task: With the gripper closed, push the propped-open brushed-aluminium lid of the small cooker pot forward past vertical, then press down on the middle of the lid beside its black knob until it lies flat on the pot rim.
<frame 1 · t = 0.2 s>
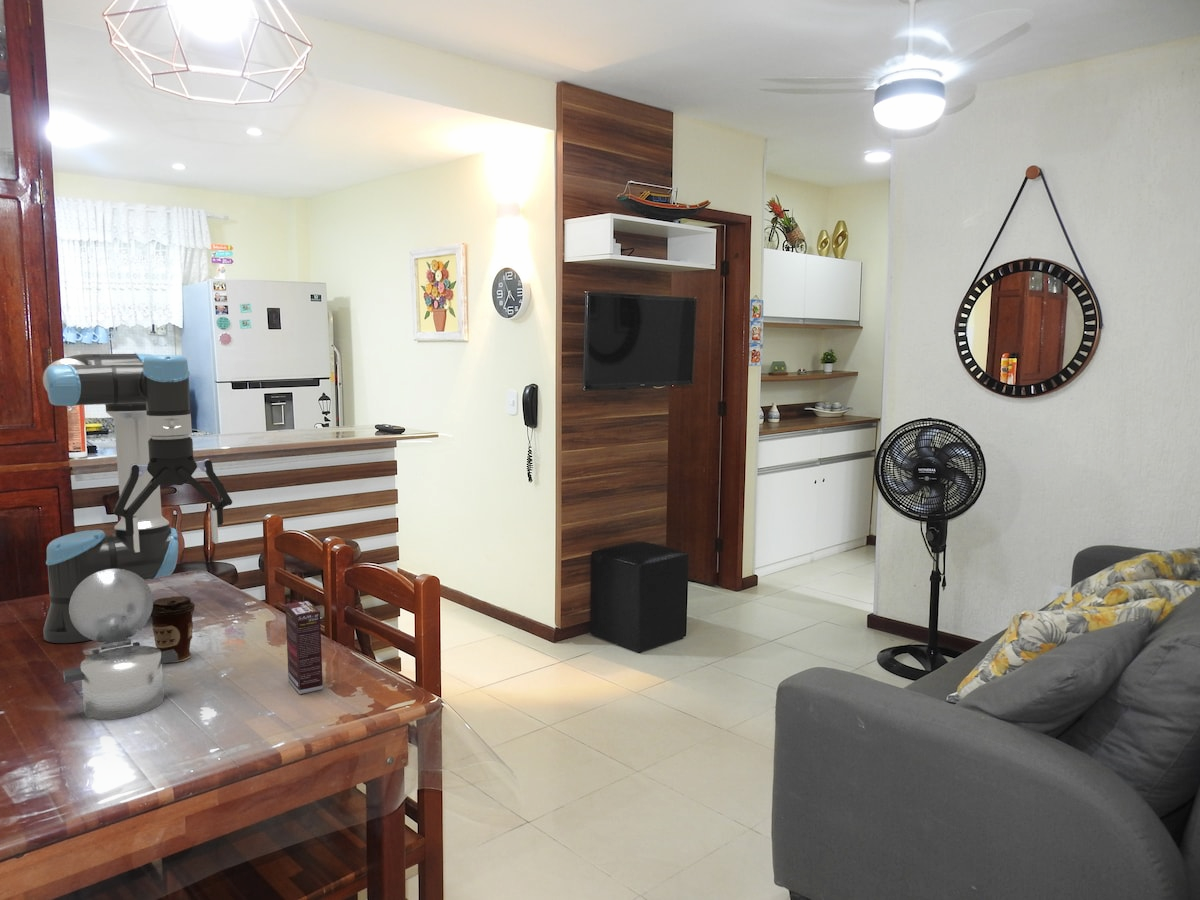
hand: (176, 546, 162), 28 cm above the table, fingers open, 13 cm apart
lid: (111, 607, 162), point 16 cm above the table, hinge at 100.0°
coffee cup: (174, 659, 180), on the table
pot: (124, 704, 157), on the table
supplement box: (305, 686, 166), on the table
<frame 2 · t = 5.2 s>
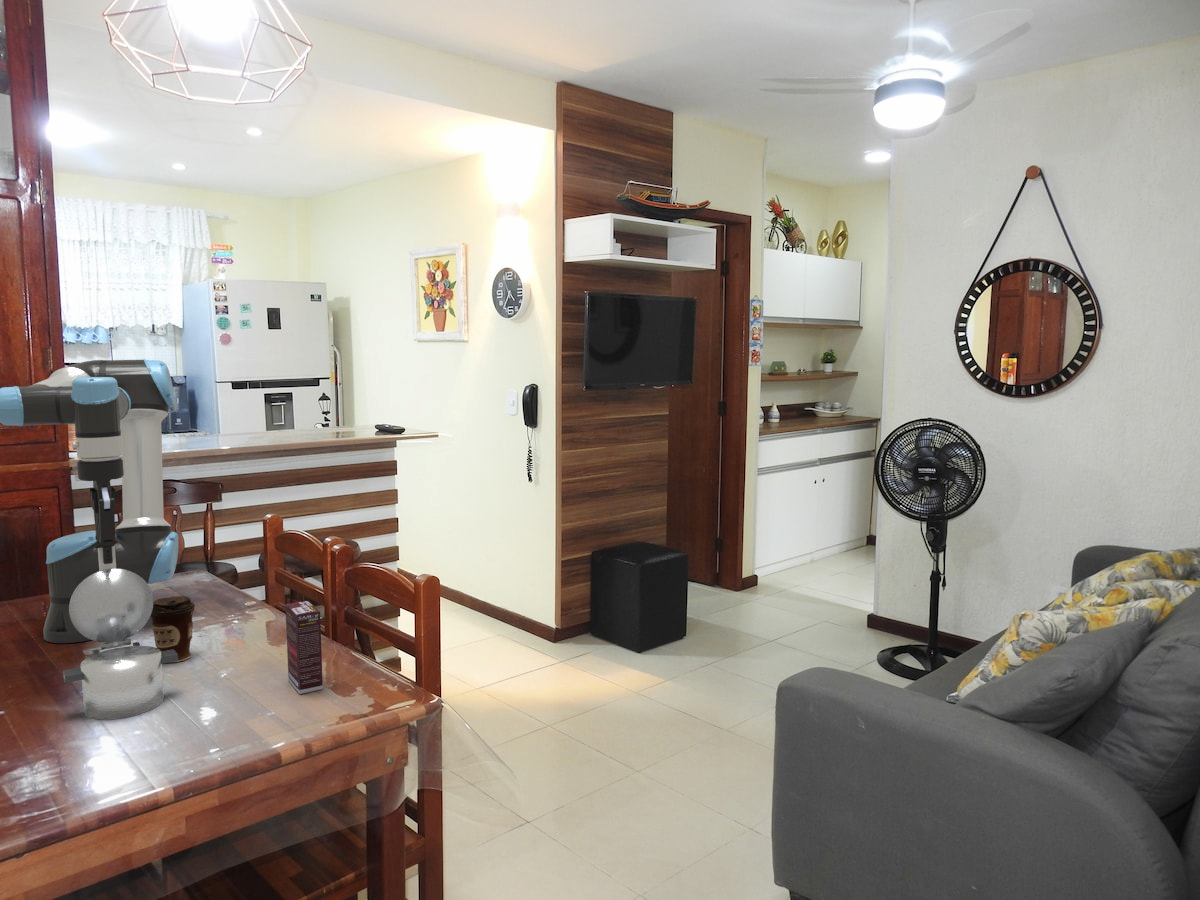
hand: (108, 578, 162), 22 cm above the table, fingers closed
lid: (111, 607, 162), point 16 cm above the table, hinge at 98.6°, touching gripper
everything else where it was.
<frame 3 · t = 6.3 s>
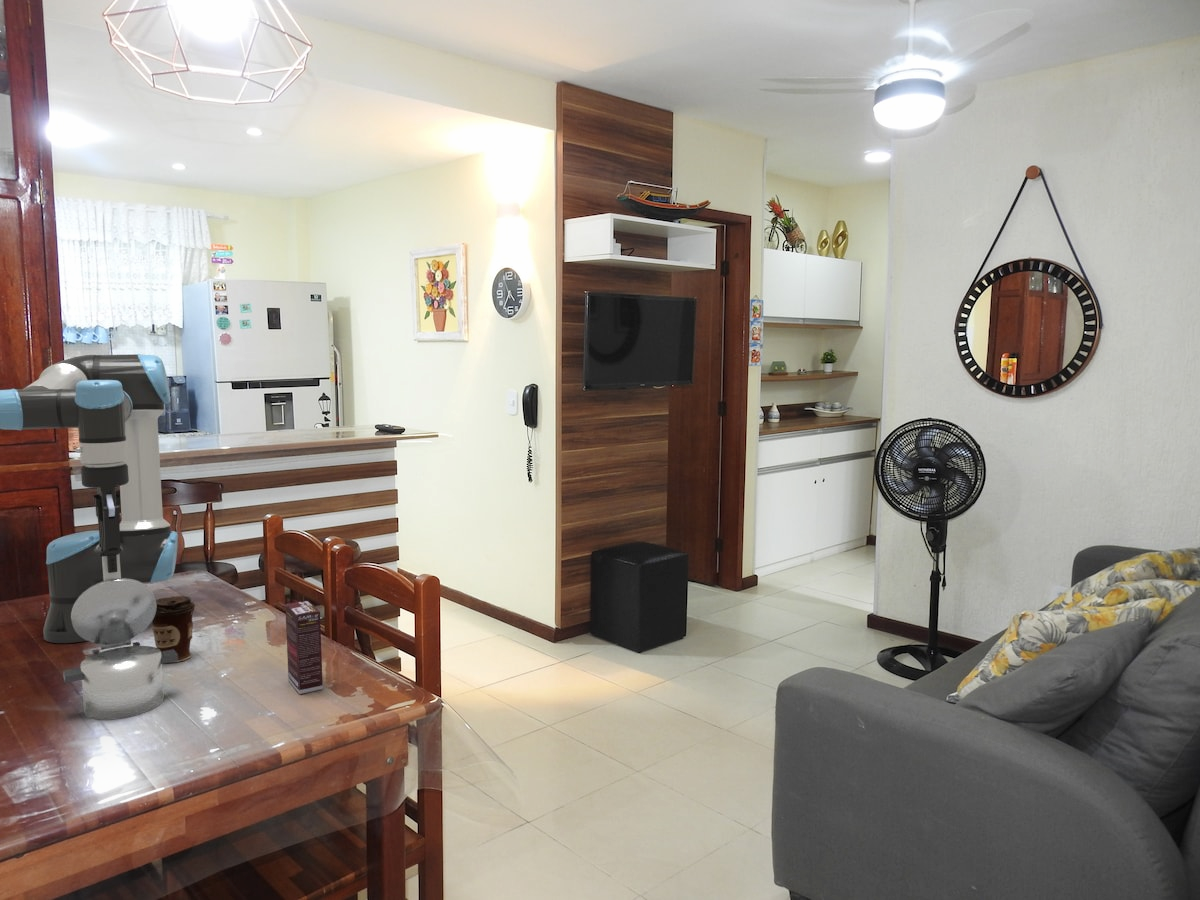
hand: (112, 587, 158), 21 cm above the table, fingers closed
lid: (114, 610, 160), point 16 cm above the table, hinge at 71.2°, touching gripper
everything else where it was.
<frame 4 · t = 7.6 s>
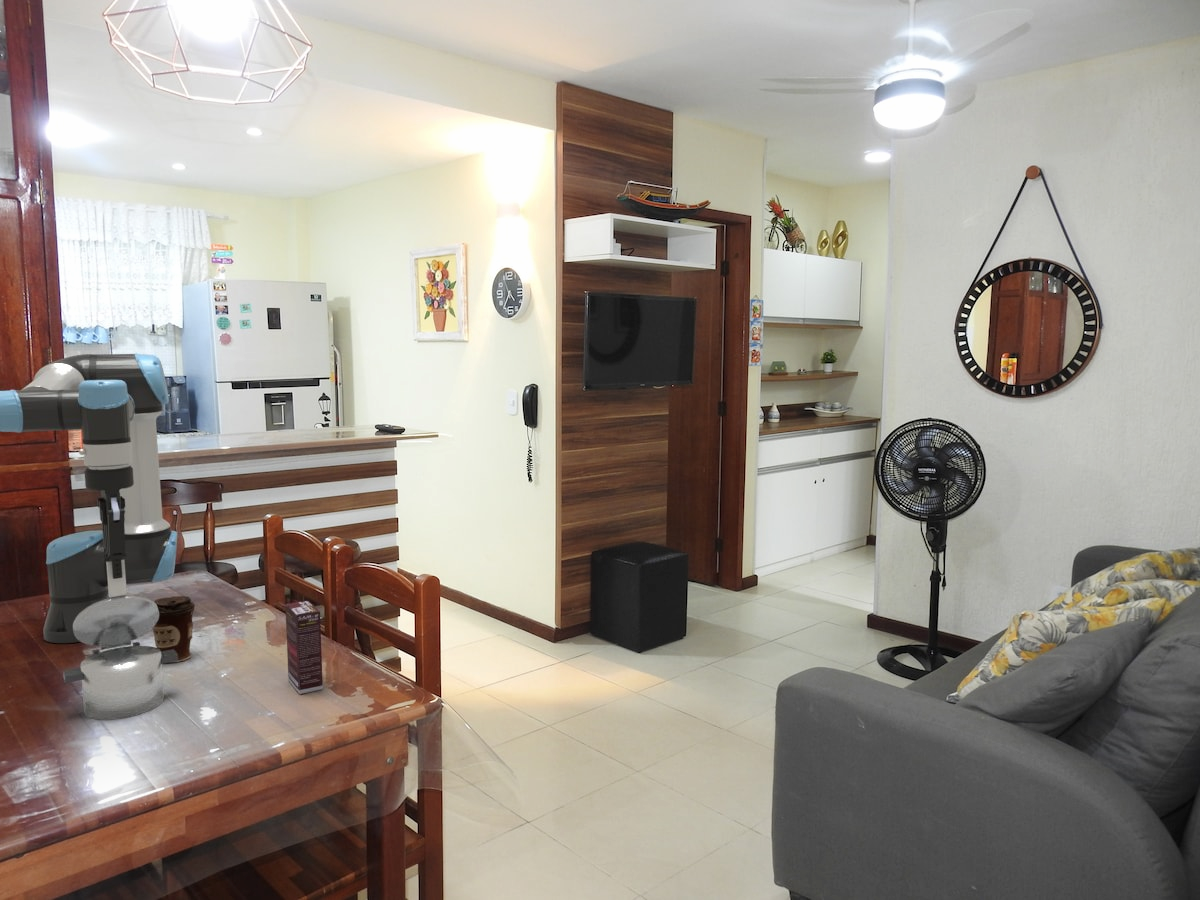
hand: (117, 594, 153), 22 cm above the table, fingers closed
lid: (116, 617, 158), point 16 cm above the table, hinge at 51.4°
everything else where it was.
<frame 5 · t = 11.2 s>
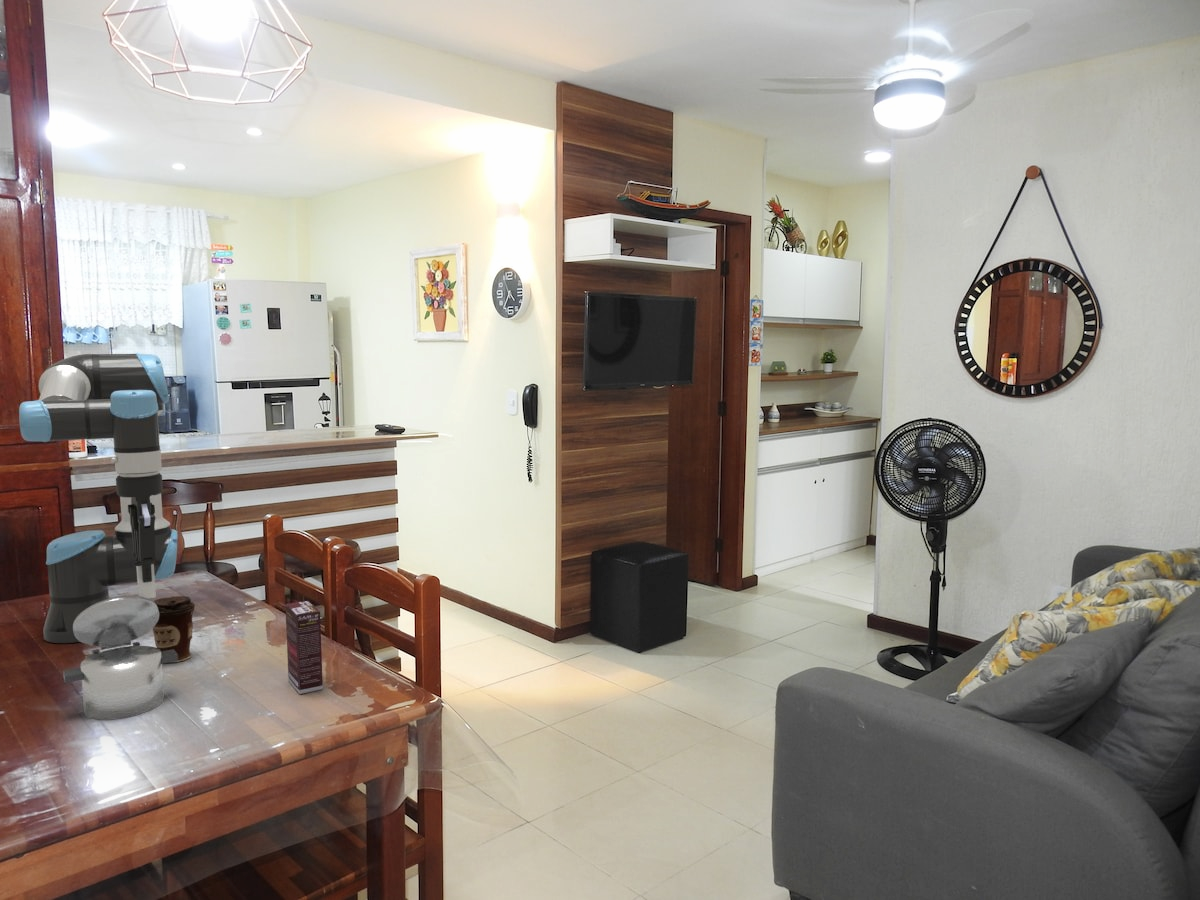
hand: (147, 597, 158), 19 cm above the table, fingers closed
lid: (116, 618, 158), point 16 cm above the table, hinge at 50.6°, touching gripper
everything else where it was.
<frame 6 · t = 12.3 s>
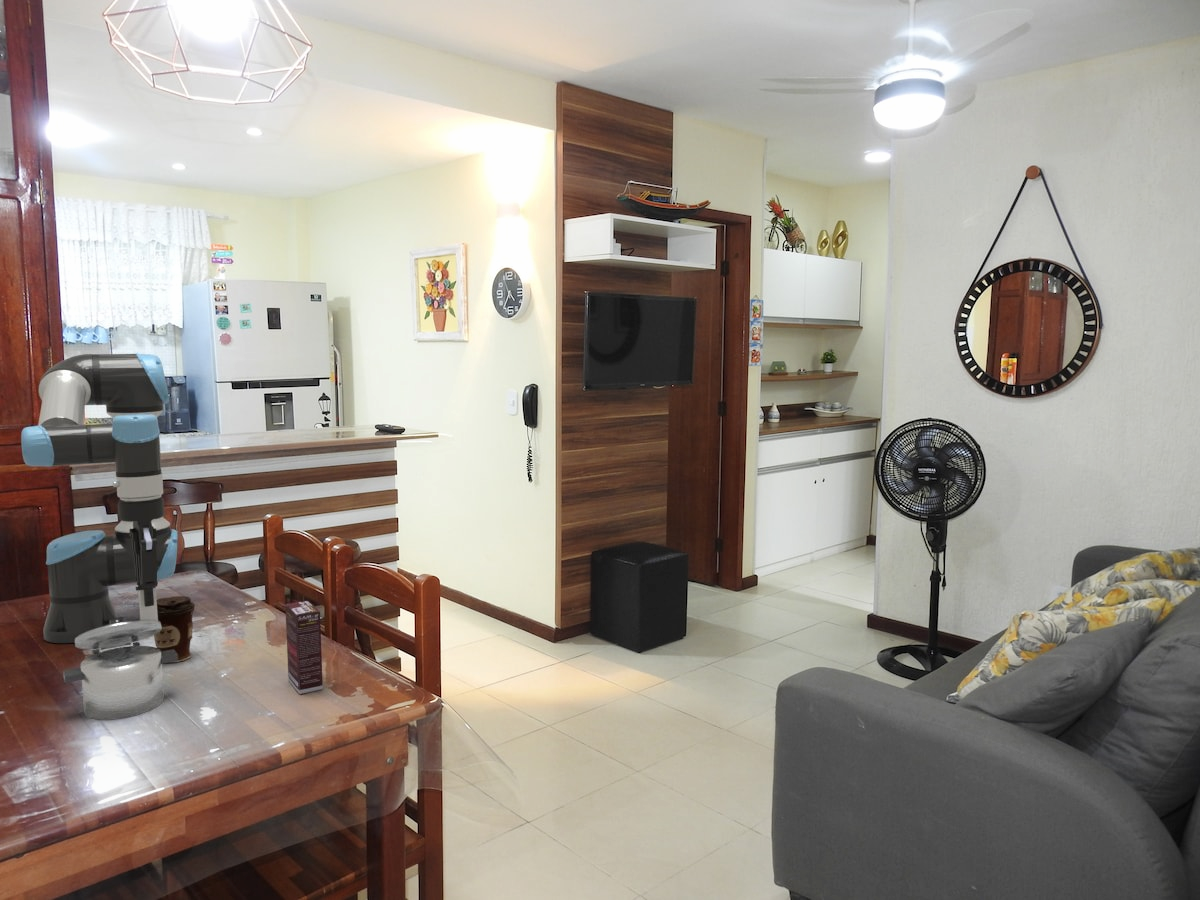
hand: (149, 621, 158), 15 cm above the table, fingers closed
lid: (118, 629, 156), point 14 cm above the table, hinge at 30.0°, touching gripper
everything else where it was.
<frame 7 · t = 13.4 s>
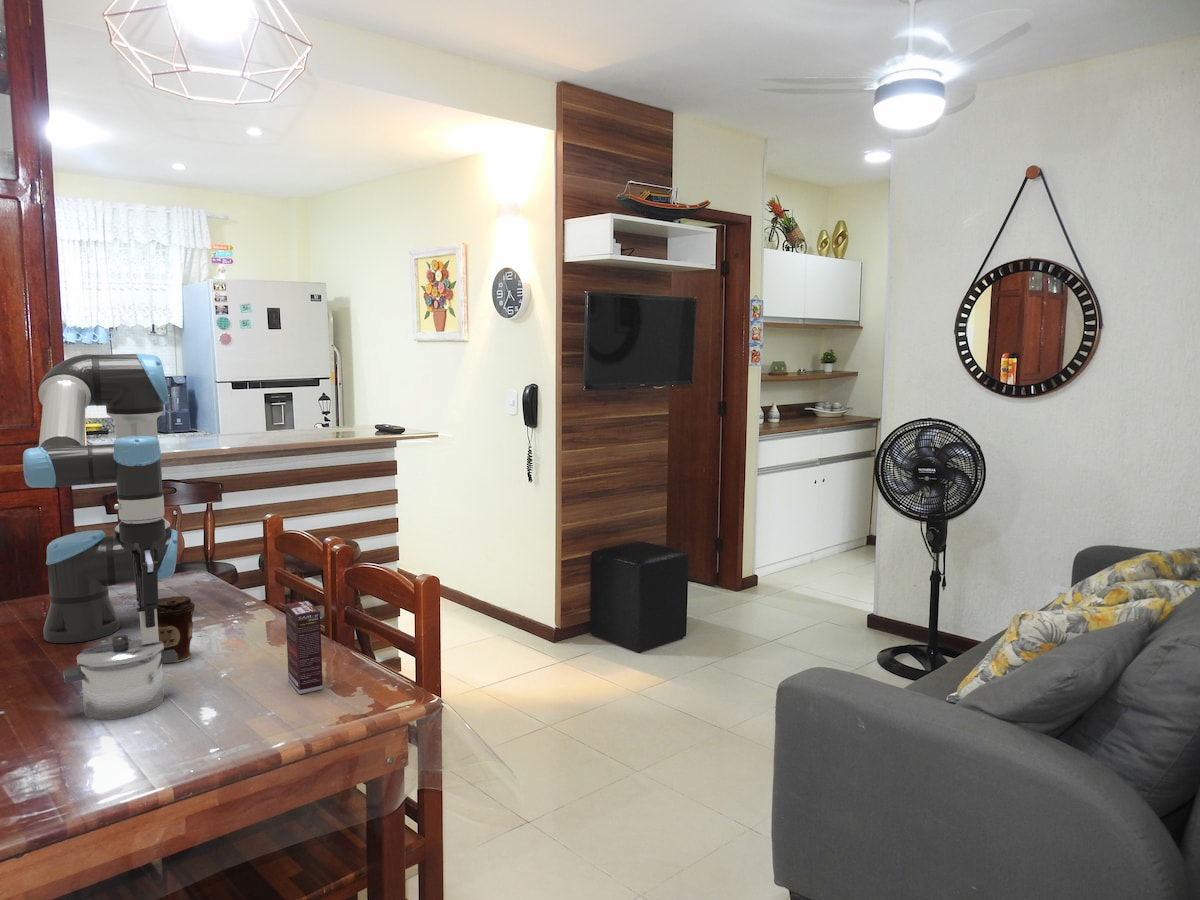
hand: (150, 641, 159), 11 cm above the table, fingers closed
lid: (120, 645, 156), point 11 cm above the table, hinge at 4.3°, touching gripper
everything else where it was.
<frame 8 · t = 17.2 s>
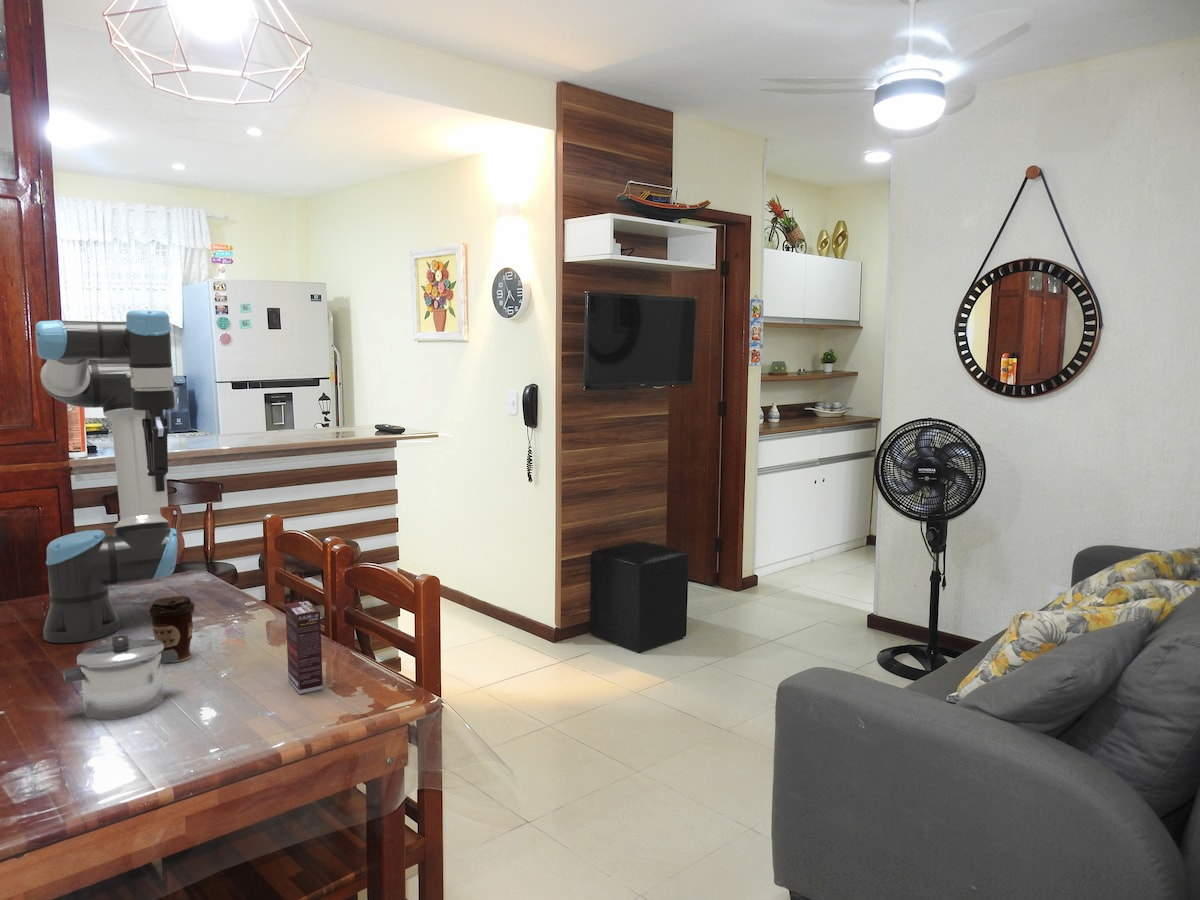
hand: (160, 506, 169), 34 cm above the table, fingers closed
lid: (120, 646, 156), point 11 cm above the table, hinge at 3.6°
everything else where it was.
at the end: lid at +4° (first picture: +100°); coffee cup moved 0.2 cm from its start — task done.
